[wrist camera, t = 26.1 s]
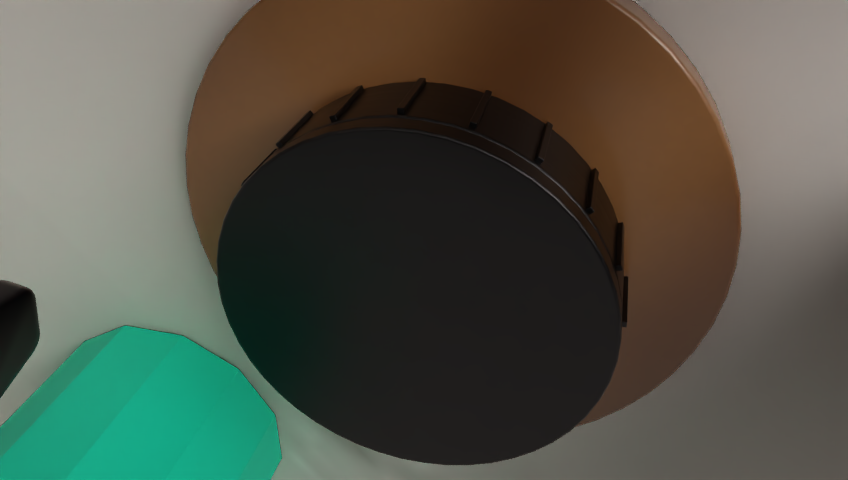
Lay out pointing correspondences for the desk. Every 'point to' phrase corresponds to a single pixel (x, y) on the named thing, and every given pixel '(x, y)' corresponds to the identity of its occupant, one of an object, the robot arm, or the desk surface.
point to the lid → (428, 274)
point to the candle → (141, 416)
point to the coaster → (527, 89)
